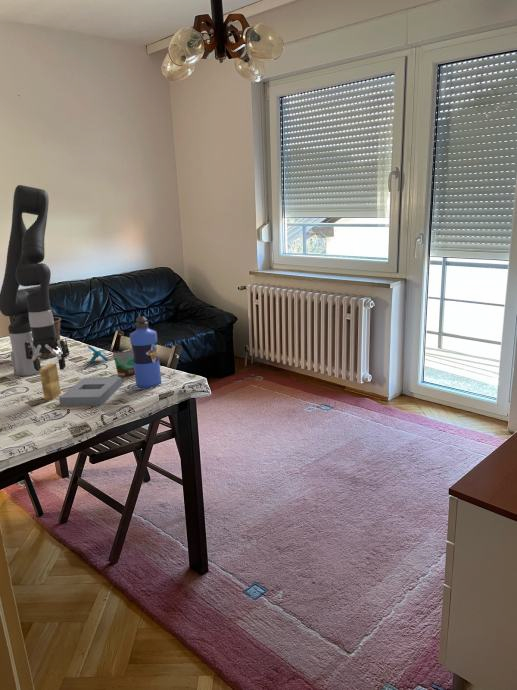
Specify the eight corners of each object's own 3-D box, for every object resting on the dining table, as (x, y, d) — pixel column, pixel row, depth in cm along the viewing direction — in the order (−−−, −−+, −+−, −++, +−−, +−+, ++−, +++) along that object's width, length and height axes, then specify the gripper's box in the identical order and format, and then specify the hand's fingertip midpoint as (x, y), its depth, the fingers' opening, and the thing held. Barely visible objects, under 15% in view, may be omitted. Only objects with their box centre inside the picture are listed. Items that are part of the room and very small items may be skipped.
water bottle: (130, 387, 187) (121, 319, 180) (145, 379, 195) (137, 313, 189) (152, 389, 184) (144, 320, 177) (166, 380, 192) (159, 314, 185)
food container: (127, 380, 195) (123, 354, 193) (115, 378, 199) (112, 352, 196) (150, 370, 205) (147, 346, 203) (138, 368, 209) (135, 344, 206)
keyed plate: (60, 406, 173) (58, 397, 172) (85, 385, 192) (84, 377, 191) (101, 405, 171) (99, 396, 171) (122, 384, 191) (121, 376, 190)
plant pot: (52, 348, 247) (47, 315, 243) (73, 352, 238) (68, 318, 234) (20, 358, 234) (14, 322, 230) (41, 362, 225) (35, 326, 221)
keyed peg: (44, 399, 180) (39, 369, 177) (53, 393, 185) (48, 364, 182) (53, 399, 179) (47, 369, 176) (61, 393, 185) (56, 363, 182)
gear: (110, 359, 218) (90, 345, 214) (102, 371, 217) (81, 357, 213) (108, 356, 228) (88, 343, 224) (99, 367, 227) (80, 354, 224)
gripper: (67, 320, 179) (74, 365, 183) (27, 322, 180) (36, 367, 184) (57, 325, 171) (65, 372, 176) (16, 327, 173) (25, 374, 177)
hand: (50, 369), depth 180 cm, fingers open, 8 cm apart
